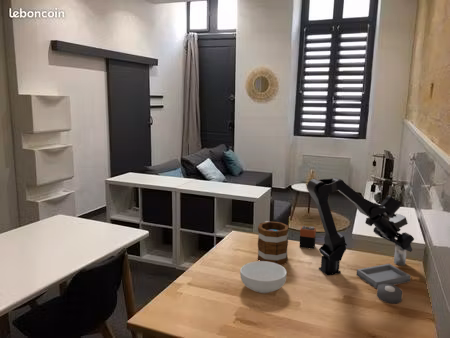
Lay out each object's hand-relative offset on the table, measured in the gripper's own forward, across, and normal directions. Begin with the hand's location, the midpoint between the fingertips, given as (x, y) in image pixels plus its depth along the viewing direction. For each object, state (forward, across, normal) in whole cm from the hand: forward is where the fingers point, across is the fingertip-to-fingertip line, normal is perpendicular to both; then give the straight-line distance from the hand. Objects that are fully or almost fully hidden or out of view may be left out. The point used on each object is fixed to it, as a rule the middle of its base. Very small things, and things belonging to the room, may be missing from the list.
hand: (403, 246), depth 156 cm
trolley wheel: (-12, -23, +22) cm, 34 cm away
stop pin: (+4, 0, +6) cm, 7 cm away
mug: (-32, +19, +42) cm, 56 cm away
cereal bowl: (-40, -6, +51) cm, 65 cm away
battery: (-17, +26, +28) cm, 41 cm away
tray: (-7, -10, +17) cm, 21 cm away
